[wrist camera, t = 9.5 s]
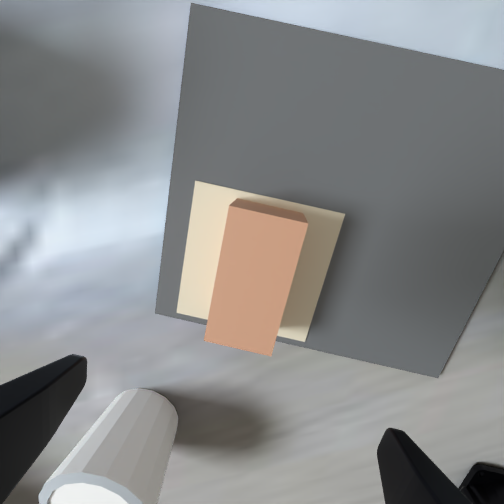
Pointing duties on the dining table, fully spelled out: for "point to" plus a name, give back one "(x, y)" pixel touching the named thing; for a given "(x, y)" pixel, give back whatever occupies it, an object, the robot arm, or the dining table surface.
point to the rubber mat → (340, 182)
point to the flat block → (254, 275)
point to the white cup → (118, 454)
